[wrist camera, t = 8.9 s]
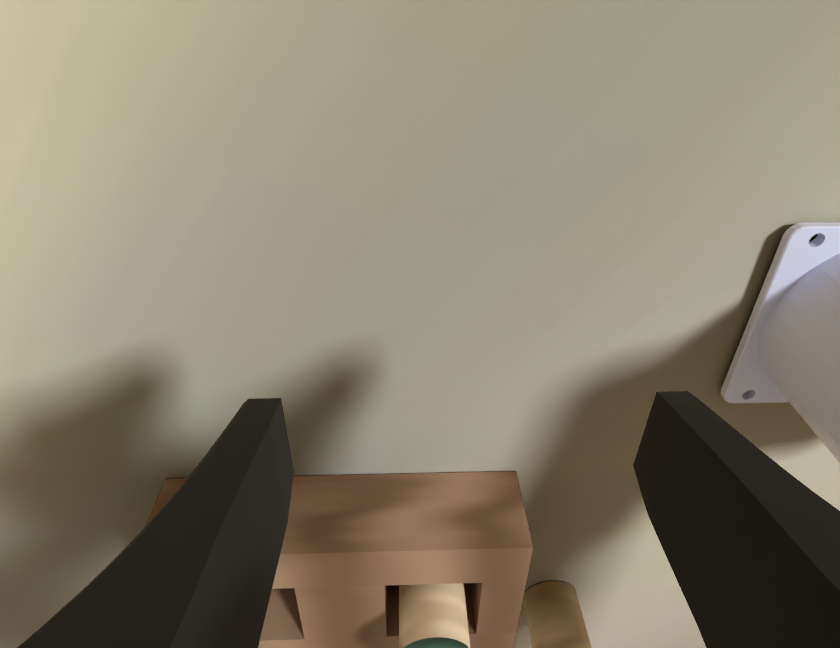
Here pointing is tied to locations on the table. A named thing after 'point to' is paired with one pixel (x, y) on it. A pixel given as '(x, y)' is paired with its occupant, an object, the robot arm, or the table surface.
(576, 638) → the peg
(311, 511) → the socket block
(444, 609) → the peg
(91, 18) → the table surface
